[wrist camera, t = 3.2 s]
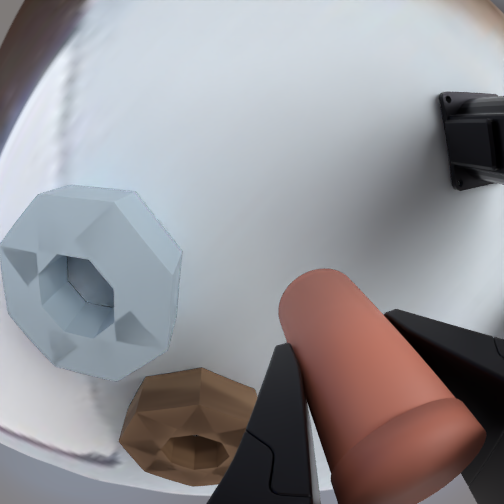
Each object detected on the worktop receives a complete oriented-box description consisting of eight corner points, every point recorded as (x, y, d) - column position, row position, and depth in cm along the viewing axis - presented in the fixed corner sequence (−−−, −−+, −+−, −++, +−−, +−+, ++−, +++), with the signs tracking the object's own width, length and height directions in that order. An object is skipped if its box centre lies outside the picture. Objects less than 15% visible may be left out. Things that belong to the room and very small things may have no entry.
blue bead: (105, 150, 15) (77, 151, 11) (214, 290, 18) (213, 321, 14) (10, 255, 16) (-20, 275, 12) (104, 365, 19) (89, 398, 15)
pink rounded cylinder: (354, 257, 10) (505, 399, 3) (361, 329, 11) (462, 478, 4) (268, 280, 10) (341, 482, 3) (285, 351, 11) (341, 533, 4)
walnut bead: (244, 358, 19) (249, 395, 16) (273, 442, 23) (279, 474, 19) (110, 381, 19) (97, 414, 16) (164, 457, 22) (160, 487, 19)
